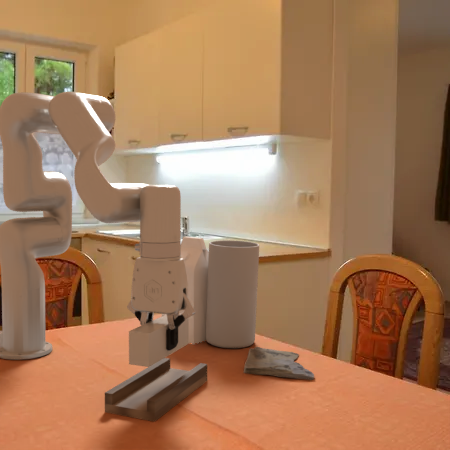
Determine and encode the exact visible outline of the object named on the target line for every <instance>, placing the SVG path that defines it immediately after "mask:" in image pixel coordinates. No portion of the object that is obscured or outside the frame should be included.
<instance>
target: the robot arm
mask: <svg viewBox="0 0 450 450" xmlns="http://www.w3.org/2000/svg"><path fill="white" fill-rule="evenodd" d="M115 123H116V111H115V109H114V106H113V105H112V103H111V102H110V101H109V100H108V99H107V98H106V97H103V96H100V95H98V94H97V95H95V94H89V93H84V92H83V93H82V92H78V91H77V92H76V91H64V92H60V93H57V94H56V95H48V94H43V93H37V92H36V93H35V92H24V91H23V92H14V93H11V94H10V95H8V96H6V97H5V98H4V100H3V101H2V102H1V105H0V141H1V147H2V155H3V156H2V193H3V194H2V195H3V201H4V205H5V206H6V207H7V209H9V210H10V211H13V212H16V213H17V212H19V213H28V212H30V213H31V212H32V213H34V212H42V215H43V216H37V217H35V216H33V217H32V216H30V217H29V216H28V217H18V218H17V217H15V218H12V219H8V220H5V221H3V222H2V223H1V224H0V277H1V279H0V280H1V311H2V312H1V314H2V315H1V319H2V320H1V321H2V323H1V325H2V326H1V327H2V330H0V358H1V359H4V360H13V361H14V360H16V361H17V360H30V359H36V358H40V357H44V356H47V355H48V354H50V353H51V352H52V351H53V345H52V343H50V342H49V341H46V285H45V284H46V282H45V281H46V279H45V274H44V271H43V270H42V268H41V266H40V265H39V264H38V261H37V260H36V259H38V258H44V257H45V258H46V257H52V256H53V257H54V256H59V255H61V254H62V255H63V253H65V252H66V251H68V249H69V248H70V246H71V243H72V242H71V241H72V235H73V233H72V231H73V191H72V187H71V183H70V182H69V180H68V178H67V177H66V176H65V175H64V174H63V173H61V172H57V171H54V170H53V171H51V170H44V169H43V151H42V148H41V146H40V144H39V141H38V140H37V139H36V138H37V137H35V136H34V134H33V133H39V134H40V133H42V134H51V135H60V136H61V137H62V139H63V140H64V142H65V143H66V145H67V146H68V149H69V150H70V152H71V153H72V154H73V156H74V157H75V158H76V162H75V165H74V173H73V174H74V176H73V178H74V185H75V186H74V187H75V191H76V193H77V195H78V196H79V198H80V200H81V201H82V203H83V205H84V206H85V208H86V209H87V210H88V211H89V213H90V214H91V215H92V216H93V217H94V218H95V219H96V220H97V221H99V222H101V223H104V224H122V223H139V243H135V244H134V250H135V251H136V252H139V257H136V258H135V261H134V262H135V263H134V267H133V272H132V281H131V294H130V295H131V296H130V301H129V302H128V304H127V306H126V307H127V310H129V312H131V313H132V314H134V316H135V318H137V320H138V322H139V326H142V325H144V324H146V323H148V322H151V321H153V320H154V315H155V314H161V315H162V314H167V320H168V325H169V329H167V330H166V349H167V350H169V351H170V350H172V349H174V348H175V347H176V346H177V344H178V327H179V326H180V325H181V324H182V323H183V322H184V321H185V320H186V319H187V318H189V317H191V316H192V315H194V314H195V310H194V308H193V307H192V305H191V303H190V301H189V300H188V284H187V275H186V268H185V264H184V259H183V258H181V256H180V255H181V242H182V238H181V227H182V226H181V225H182V224H181V223H182V222H181V219H182V218H181V215H182V214H181V213H182V212H181V210H182V209H181V207H182V206H181V203H182V202H181V201H182V200H181V199H182V198H181V191H180V188H179V187H178V186H176V185H173V184H148V183H131V182H114V183H113V182H112V183H111V182H110V181H108V179H107V178H106V176H105V175H104V174H103V172H102V171H101V169H100V167H99V166H101V165H103V164H104V163H106V162H107V161H109V158H111V157H112V155H113V153H114V152H115V150H116V141H115V139H114V137H113V135H112V134H111V133H110V132H111V131H112V130H113V128H114V126H115ZM180 310H184V313H182V314H181V315H180V314H179V311H180Z"/></svg>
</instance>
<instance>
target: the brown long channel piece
mask: <svg viewBox="0 0 450 450" xmlns="http://www.w3.org/2000/svg"><path fill="white" fill-rule="evenodd" d="M206 382H208V364H207V363H202V362H200V363H199V364H197V365H196V366H194V367H193V368H192V369H189V370H186V369H185V370H184V369H178V368H173V367H171V358H168V357H165V358H163V359H162V360H160V361H158V362H157V363H155V364H153V365H152V366H150V367H146V368H144V369H143V370H140V371H139V372H138V373H136V374H135V375H132V376H130V377H129V378H127V379H125V380H124V381H122V382H121V383H119V384H117V385H116V386H113V387H112V388H110V389H109V390H107V391H105V392H104V413H106V414H107V413H108V414H114V415H117V416H118V415H119V416H123V417H128V418H129V417H130V418H134V419H140V420H146V421H150V422H156V421H157V420H159V419H160V418H161V417H162V416H164V415H165V414H166V413H167V412H169V411H170V410H172V409H173V408H174V407H175V406H177V405H178V404H179V403H181V402H183V400H184V399H185V398H187V397H188V396H190V395H191V394H192V393H193V392H195V391H196V390H198V389H199V388H200V387H201V386H203V385H204V384H205V383H206Z"/></svg>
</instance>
